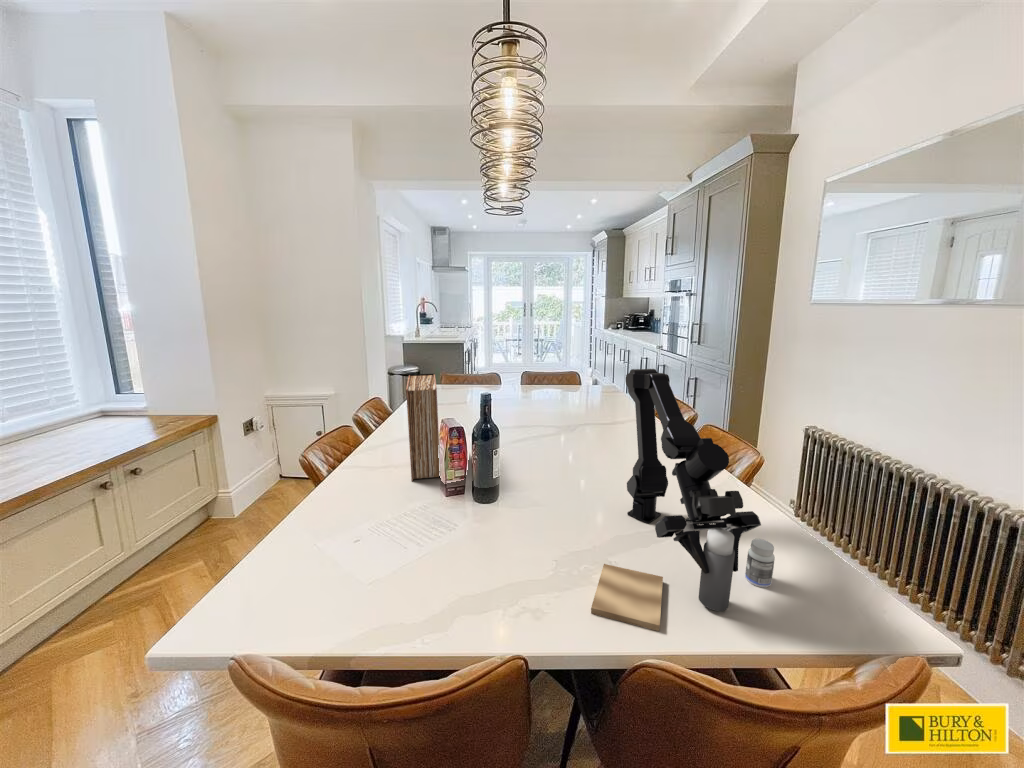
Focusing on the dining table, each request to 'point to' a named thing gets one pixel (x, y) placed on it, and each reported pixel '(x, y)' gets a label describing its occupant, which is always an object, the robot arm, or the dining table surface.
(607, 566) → the serving board
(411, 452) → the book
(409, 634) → the dining table surface
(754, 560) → the pill bottle
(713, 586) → the pepper mill
